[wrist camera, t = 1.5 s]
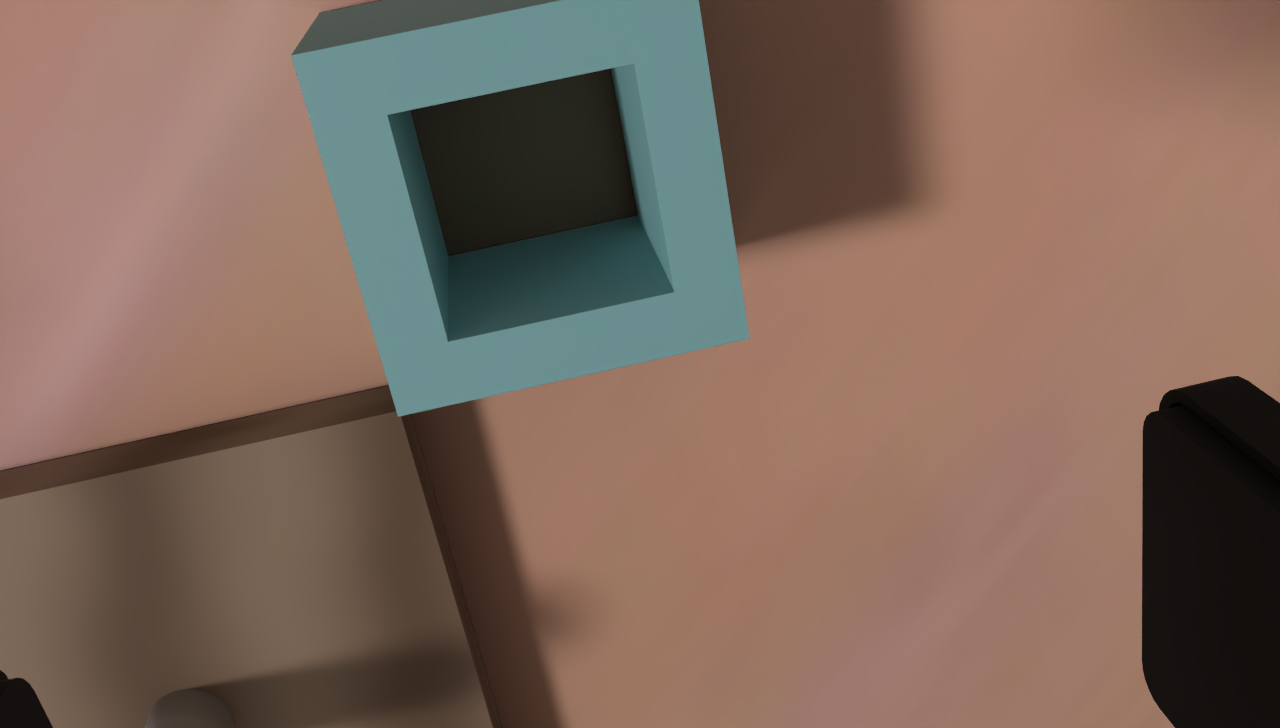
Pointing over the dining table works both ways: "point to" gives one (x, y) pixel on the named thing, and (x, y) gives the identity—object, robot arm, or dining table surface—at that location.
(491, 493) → the dining table surface
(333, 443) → the post base
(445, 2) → the collar
